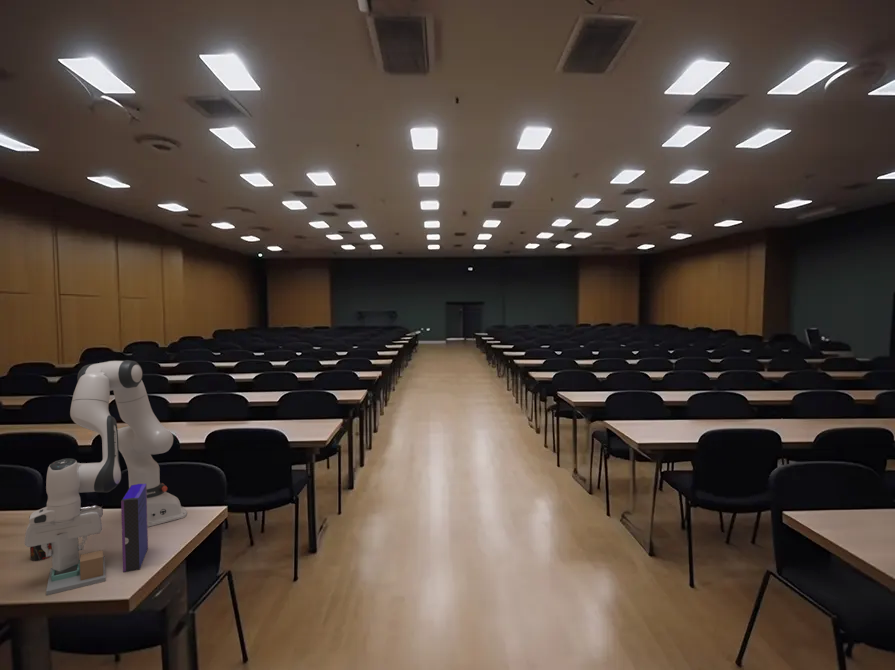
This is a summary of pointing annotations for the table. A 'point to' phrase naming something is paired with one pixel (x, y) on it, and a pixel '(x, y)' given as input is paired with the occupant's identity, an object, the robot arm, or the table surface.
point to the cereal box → (134, 527)
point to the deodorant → (38, 552)
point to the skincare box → (64, 552)
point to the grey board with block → (78, 574)
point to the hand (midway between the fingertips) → (65, 552)
